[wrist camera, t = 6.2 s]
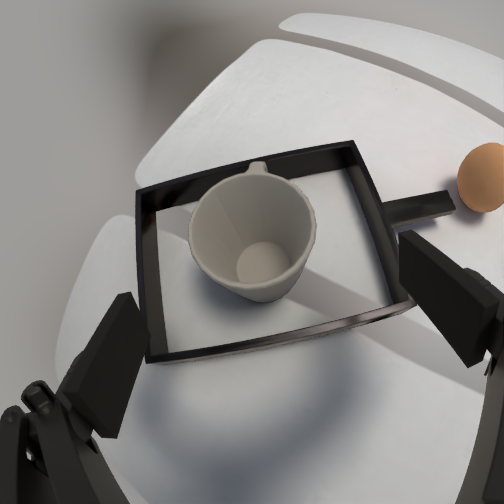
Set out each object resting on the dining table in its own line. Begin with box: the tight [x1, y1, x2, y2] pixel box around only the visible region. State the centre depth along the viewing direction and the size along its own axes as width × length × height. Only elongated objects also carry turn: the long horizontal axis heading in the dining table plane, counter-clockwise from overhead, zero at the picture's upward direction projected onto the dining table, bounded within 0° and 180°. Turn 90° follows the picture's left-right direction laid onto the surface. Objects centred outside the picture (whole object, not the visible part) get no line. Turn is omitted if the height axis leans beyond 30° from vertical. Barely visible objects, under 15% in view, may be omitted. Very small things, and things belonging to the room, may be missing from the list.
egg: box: [457, 143, 504, 213], centre depth 21 cm, size 6×6×8 cm
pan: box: [135, 140, 456, 365], centre depth 24 cm, size 27×15×4 cm, turn 101°
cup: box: [188, 161, 317, 302], centre depth 22 cm, size 8×10×8 cm
